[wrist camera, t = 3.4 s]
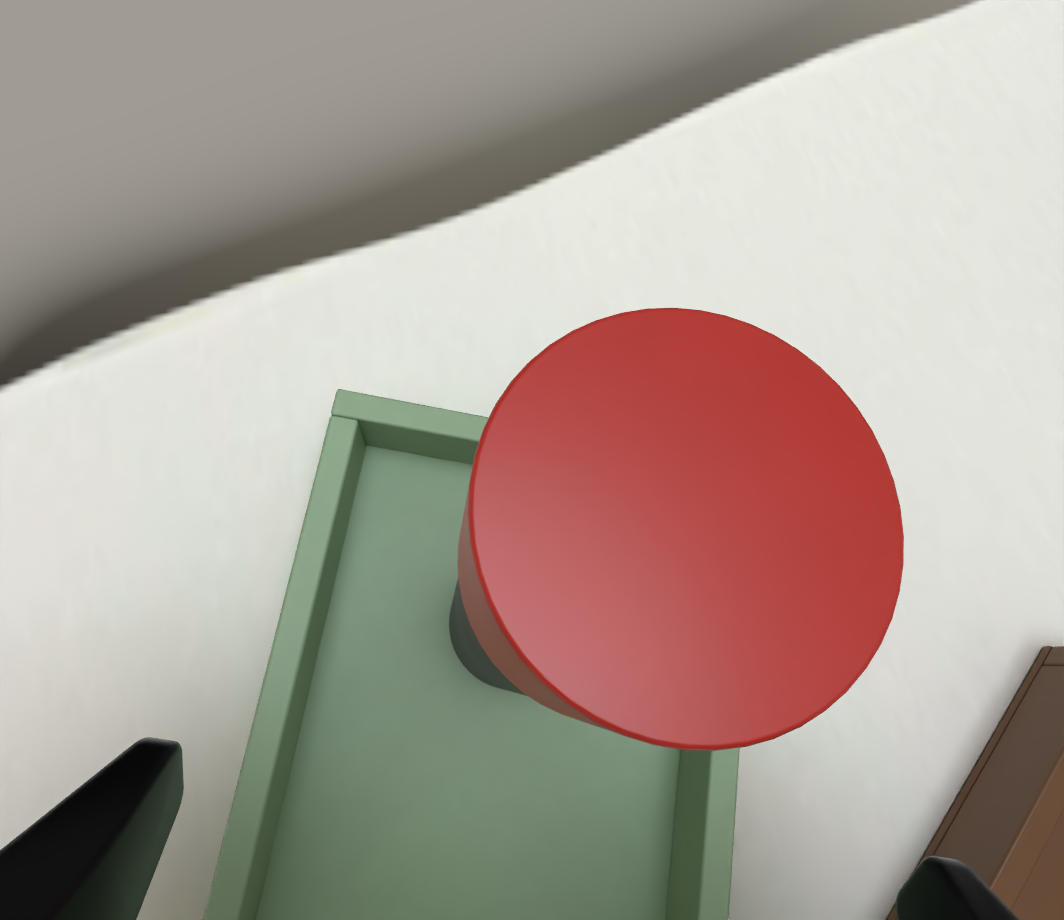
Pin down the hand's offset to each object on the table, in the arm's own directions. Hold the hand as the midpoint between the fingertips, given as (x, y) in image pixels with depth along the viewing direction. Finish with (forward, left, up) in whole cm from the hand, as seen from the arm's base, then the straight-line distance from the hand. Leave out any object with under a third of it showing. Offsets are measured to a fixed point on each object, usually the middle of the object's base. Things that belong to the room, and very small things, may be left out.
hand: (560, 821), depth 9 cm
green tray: (0, 0, -10) cm, 10 cm away
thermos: (+1, +3, -10) cm, 11 cm away
